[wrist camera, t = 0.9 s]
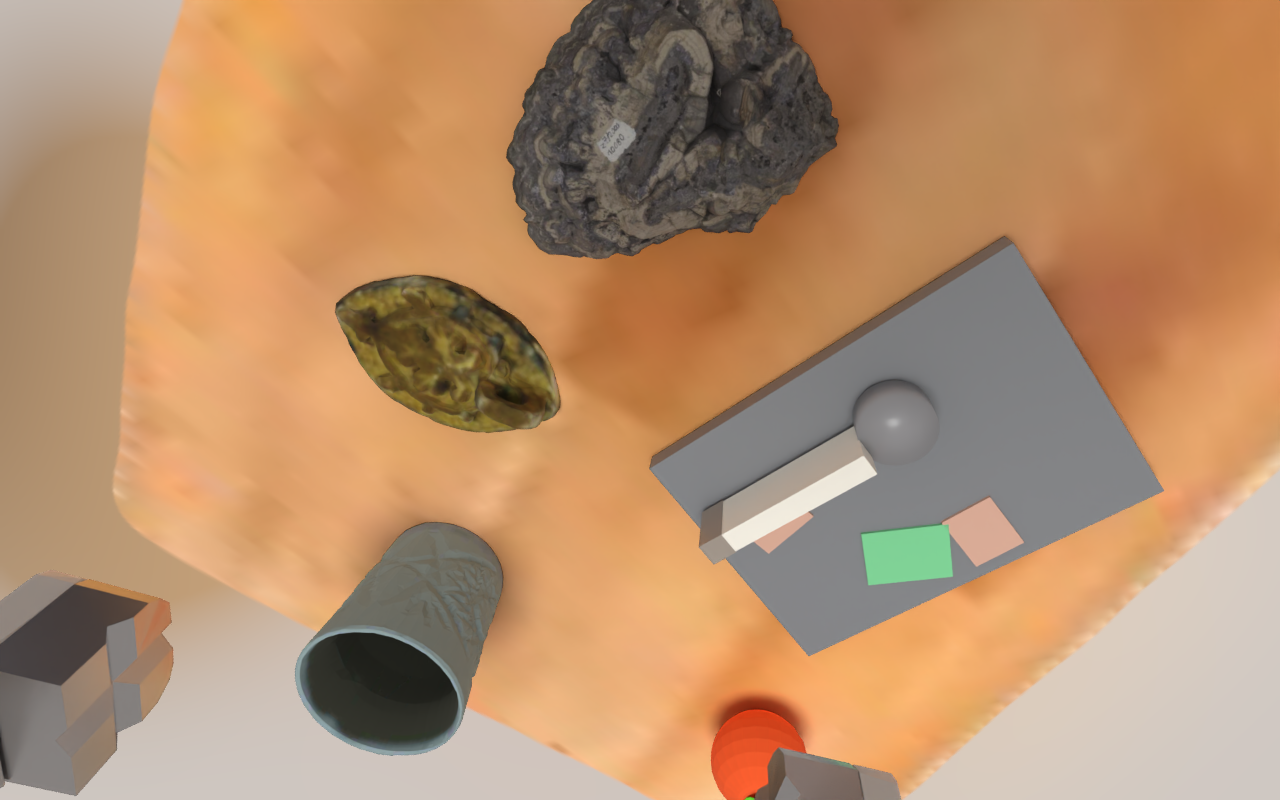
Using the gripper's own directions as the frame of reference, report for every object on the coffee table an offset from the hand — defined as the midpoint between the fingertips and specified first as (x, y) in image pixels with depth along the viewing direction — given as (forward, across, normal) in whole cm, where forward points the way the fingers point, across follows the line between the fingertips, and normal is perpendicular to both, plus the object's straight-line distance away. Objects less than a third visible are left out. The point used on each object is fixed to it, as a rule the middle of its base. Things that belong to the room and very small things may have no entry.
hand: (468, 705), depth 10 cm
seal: (+37, +11, +12) cm, 40 cm away
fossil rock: (+36, 0, -4) cm, 36 cm away
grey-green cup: (+37, +9, +29) cm, 48 cm away
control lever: (+34, -12, +12) cm, 38 cm away
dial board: (+36, -18, +12) cm, 41 cm away
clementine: (+36, -16, +36) cm, 54 cm away
